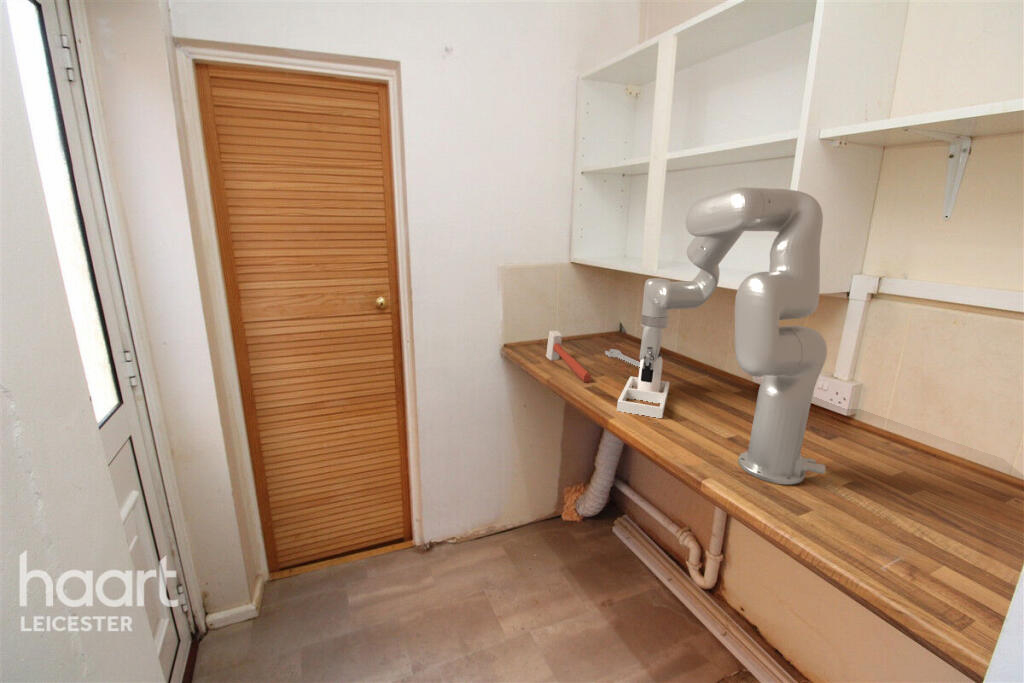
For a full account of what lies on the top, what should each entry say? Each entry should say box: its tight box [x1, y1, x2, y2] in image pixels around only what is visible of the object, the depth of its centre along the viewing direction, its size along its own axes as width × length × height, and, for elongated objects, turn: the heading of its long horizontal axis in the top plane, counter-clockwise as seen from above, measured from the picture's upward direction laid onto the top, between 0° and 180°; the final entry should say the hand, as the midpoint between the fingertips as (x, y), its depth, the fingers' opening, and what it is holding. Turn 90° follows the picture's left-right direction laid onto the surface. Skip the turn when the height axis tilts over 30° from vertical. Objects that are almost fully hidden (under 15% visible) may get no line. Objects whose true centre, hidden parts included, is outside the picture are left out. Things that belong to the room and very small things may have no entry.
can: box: [637, 353, 664, 393], centre depth 142 cm, size 6×6×12 cm
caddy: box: [616, 376, 670, 419], centre depth 137 cm, size 12×23×3 cm, turn 158°
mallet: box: [545, 330, 592, 384], centre depth 163 cm, size 11×4×30 cm
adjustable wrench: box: [604, 348, 640, 368], centre depth 174 cm, size 25×6×2 cm, turn 20°
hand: (648, 376), depth 140 cm, fingers open, 9 cm apart
